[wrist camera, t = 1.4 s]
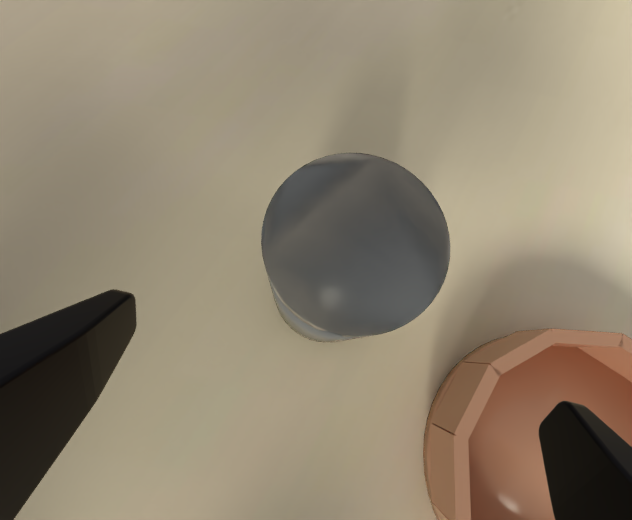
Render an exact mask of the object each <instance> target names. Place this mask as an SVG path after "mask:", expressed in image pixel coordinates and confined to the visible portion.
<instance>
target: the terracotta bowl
mask: <svg viewBox="0 0 632 520" xmlns="http://www.w3.org/2000/svg"><path fill="white" fill-rule="evenodd" d="M561 401H570V402H574V403H578V404H581V405H584V406H586V407H587V408H588V409H590V410H591V411H592V412H593V413H594V414H595V415H596V416H597V417H599V418H600V419H601V420H602V421H603V422H604V423H605V424H606V425H608V426H609V427H610V428H611V429H612V430H613V431H614V432H615V433H617V434H618V435H619V436H620V437H621V438H622V439H623V440H624V441H626V442H627V443H628V444H629V445H630V446H631V447H632V339H631V338H629V337H627V336H626V335H624V334H622V333H609V332H594V331H580V330H565V329H541V330H528V331H517V332H515V333H513V334H511V335H509V336H506V337H503V338H499V339H496V340H493V341H491V342H488V343H486V344H484V345H482V346H480V347H478V348H477V349H475V350H474V351H472V352H471V353H469V354H468V355H467V356H466V357H464V358H463V359H462V360H461V361H460V362H459V363H458V364H457V365H456V366H455V367H454V368H453V370H452V371H451V372H450V373H449V374H448V375H447V377H446V379H445V380H444V382H443V383H442V385H441V386H440V388H439V390H438V392H437V394H436V396H435V399H434V401H433V403H432V406H431V409H430V412H429V416H428V419H427V424H426V430H425V435H424V451H423V458H424V473H425V479H426V484H427V490H428V494H429V497H430V500H431V504H432V507H433V510H434V513H435V515H436V517H437V520H555V517H554V514H553V509H552V504H551V500H550V494H549V489H548V483H547V478H546V472H545V467H544V462H543V456H542V451H541V445H540V440H539V426H540V424H541V422H542V421H543V420H544V419H545V417H546V416H547V415H548V414H549V413H550V412H551V411H552V409H553V408H554V407H555V406H556V405H557V404H558V403H559V402H561Z"/></svg>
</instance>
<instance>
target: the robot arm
mask: <svg viewBox="0 0 632 520" xmlns="http://www.w3.org/2000/svg"><path fill="white" fill-rule="evenodd" d="M135 329H136V304H135V297H134V295H133V294H131V293H128V292H124V291H120V290H115V289H113V290H109V291H106V292H104V293H101V294H99V295H96V296H94V297H91V298H89V299H86V300H84V301H81V302H79V303H77V304H74V305H72V306H69V307H67V308H64V309H62V310H59V311H57V312H54V313H52V314H49V315H47V316H44V317H42V318H39V319H37V320H34V321H32V322H29V323H27V324H24V325H22V326H19V327H17V328H14V329H12V330H9V331H7V332H4V333H2V334H0V520H14V518H15V517H16V515H17V514H18V513H19V511H20V510H21V508H22V507H23V505H24V504H25V503H26V501H27V500H28V498H29V497H30V495H31V494H32V493H33V491H34V490H35V488H36V487H37V485H38V484H39V483H40V481H41V480H42V478H43V477H44V475H45V474H46V473H47V471H48V470H49V468H50V467H51V465H52V464H53V463H54V461H55V460H56V458H57V457H58V455H59V454H60V453H61V451H62V450H63V448H64V447H65V446H66V444H67V443H68V441H69V440H70V438H71V437H72V436H73V434H74V433H75V431H76V430H77V428H78V427H79V426H80V424H81V423H82V421H83V420H84V418H85V417H86V416H87V414H88V413H89V411H90V410H91V408H92V407H93V405H94V404H95V402H96V401H97V399H98V397H99V396H100V394H101V392H102V391H103V389H104V387H105V385H106V383H107V382H108V380H109V378H110V376H111V374H112V373H113V371H114V369H115V367H116V365H117V364H118V362H119V360H120V358H121V356H122V355H123V353H124V351H125V349H126V347H127V345H128V344H129V342H130V340H131V338H132V336H133V334H134V332H135ZM539 440H540V445H541V451H542V456H543V462H544V467H545V472H546V478H547V483H548V489H549V494H550V500H551V504H552V509H553V514H554V517H555V520H632V447H631V446H630V445H629V444H628V443H627V442H626V441H624V440H623V439H622V438H621V437H620V436H619V435H618V434H617V433H615V432H614V431H613V430H612V429H611V428H610V427H609V426H608V425H606V424H605V423H604V422H603V421H602V420H601V419H600V418H599V417H597V416H596V415H595V414H594V413H593V412H592V411H591V410H590V409H588V408H587V407H586V406H584V405H581V404H578V403H574V402H570V401H561V402H559V403H558V404H557V405H556V406H555V407H554V408H553V409H552V411H551V412H550V413H549V414H548V415H547V416H546V417H545V419H544V420H543V421H542V422H541V424H540V426H539Z"/></svg>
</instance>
